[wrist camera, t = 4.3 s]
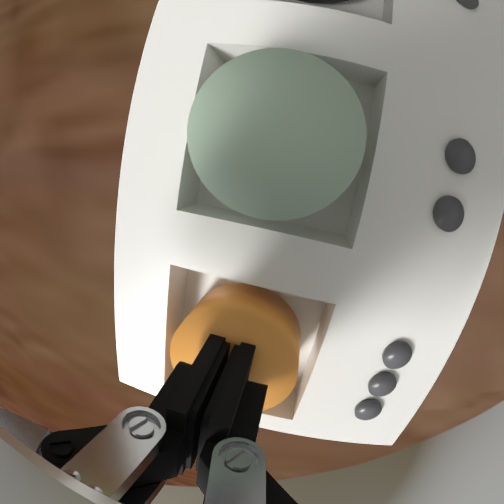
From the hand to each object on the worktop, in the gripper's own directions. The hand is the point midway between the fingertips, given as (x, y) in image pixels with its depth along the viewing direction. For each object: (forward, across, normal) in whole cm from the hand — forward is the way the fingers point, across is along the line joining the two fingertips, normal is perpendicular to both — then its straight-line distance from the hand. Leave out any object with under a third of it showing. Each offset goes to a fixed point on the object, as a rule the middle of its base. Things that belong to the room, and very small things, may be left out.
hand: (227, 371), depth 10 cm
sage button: (+2, 0, -8) cm, 8 cm away
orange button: (+2, 0, 0) cm, 3 cm away
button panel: (+4, -2, -8) cm, 9 cm away
